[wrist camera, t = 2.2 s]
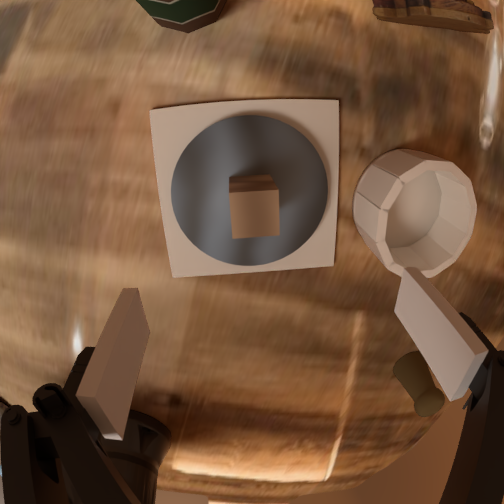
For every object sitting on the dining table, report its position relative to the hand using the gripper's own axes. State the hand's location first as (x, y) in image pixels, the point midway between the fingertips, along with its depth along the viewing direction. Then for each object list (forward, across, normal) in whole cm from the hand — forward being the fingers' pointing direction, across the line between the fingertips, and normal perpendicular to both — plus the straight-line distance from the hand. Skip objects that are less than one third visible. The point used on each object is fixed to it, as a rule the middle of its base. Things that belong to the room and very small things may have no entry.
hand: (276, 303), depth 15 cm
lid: (+20, 0, 0) cm, 20 cm away
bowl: (+20, +18, -2) cm, 27 cm away
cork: (+20, +26, -31) cm, 45 cm away
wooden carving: (+21, +20, +21) cm, 35 cm away
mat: (+20, 0, 0) cm, 20 cm away
